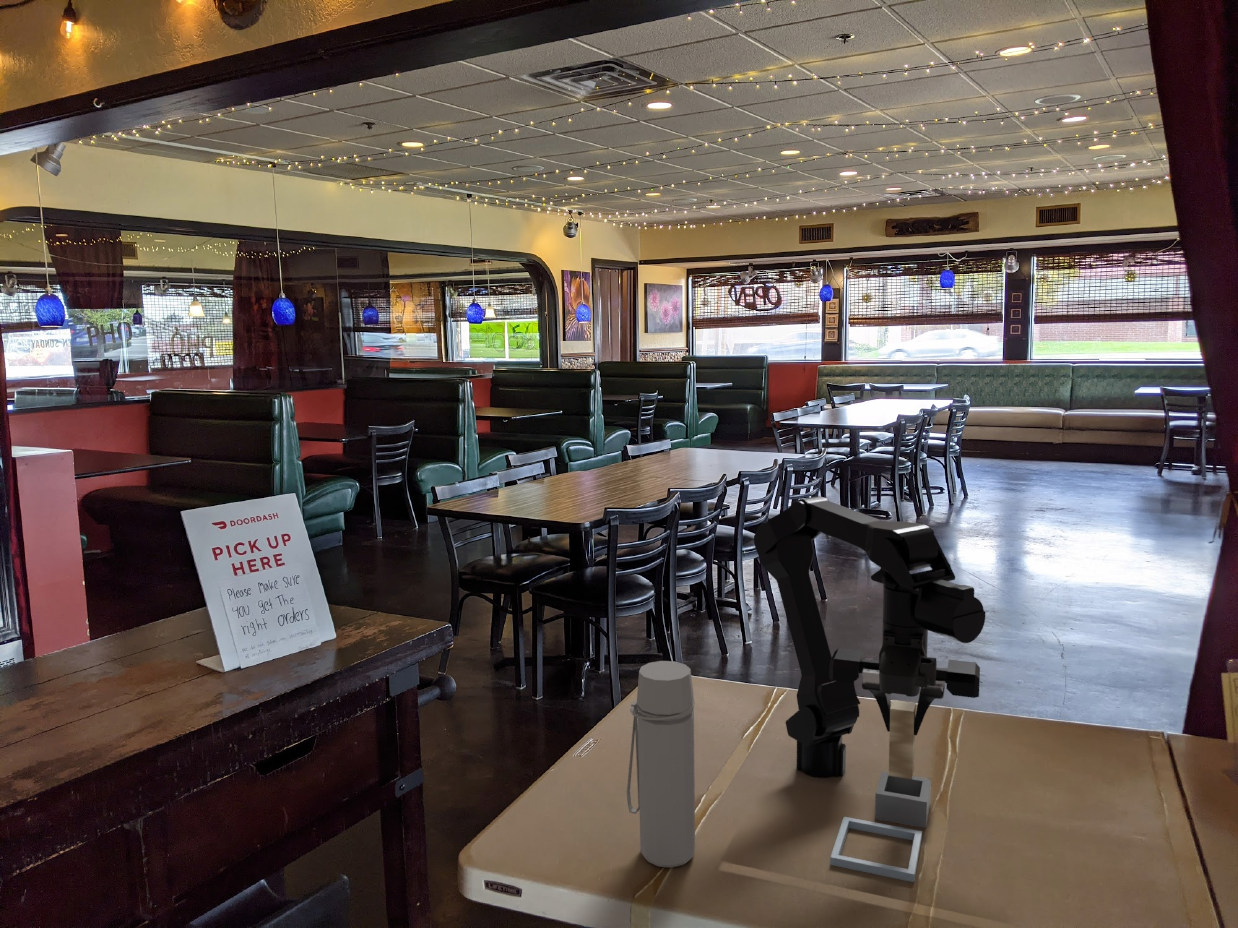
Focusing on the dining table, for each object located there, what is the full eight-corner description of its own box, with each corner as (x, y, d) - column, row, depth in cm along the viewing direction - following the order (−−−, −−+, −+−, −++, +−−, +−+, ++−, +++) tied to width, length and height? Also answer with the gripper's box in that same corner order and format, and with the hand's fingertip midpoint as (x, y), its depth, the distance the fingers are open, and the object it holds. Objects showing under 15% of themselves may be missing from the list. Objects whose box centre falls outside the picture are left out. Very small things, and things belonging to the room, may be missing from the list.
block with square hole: (874, 823, 125) (875, 793, 124) (881, 800, 131) (881, 770, 130) (925, 833, 123) (926, 802, 122) (929, 808, 129) (930, 778, 128)
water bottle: (705, 844, 121) (703, 663, 117) (683, 877, 114) (681, 686, 110) (640, 829, 125) (637, 654, 121) (616, 860, 118) (611, 675, 114)
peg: (888, 775, 123) (890, 708, 122) (890, 765, 126) (892, 699, 125) (912, 779, 122) (914, 711, 121) (913, 768, 125) (915, 702, 123)
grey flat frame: (830, 870, 115) (830, 856, 115) (843, 828, 124) (844, 816, 124) (913, 887, 111) (914, 874, 111) (921, 843, 120) (921, 831, 120)
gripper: (822, 632, 117) (821, 748, 119) (980, 649, 110) (976, 771, 112) (836, 606, 127) (835, 713, 130) (981, 619, 120) (977, 732, 123)
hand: (902, 732), depth 123 cm, fingers closed on peg, 3 cm apart
